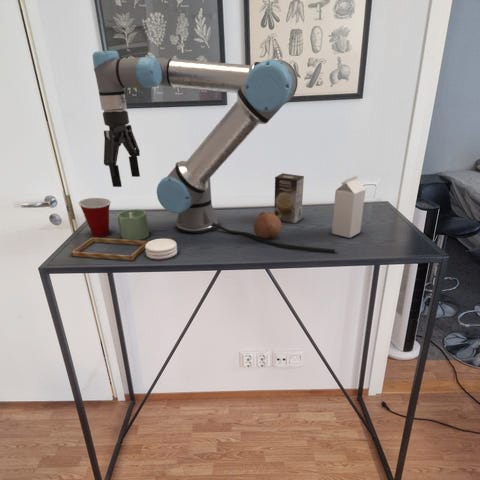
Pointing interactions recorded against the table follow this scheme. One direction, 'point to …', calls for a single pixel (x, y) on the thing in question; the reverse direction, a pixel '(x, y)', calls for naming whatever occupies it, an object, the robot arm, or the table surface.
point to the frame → (109, 256)
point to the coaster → (161, 249)
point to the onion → (267, 226)
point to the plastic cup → (96, 215)
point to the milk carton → (348, 208)
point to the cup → (133, 225)
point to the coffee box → (288, 197)
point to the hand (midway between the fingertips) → (127, 181)
